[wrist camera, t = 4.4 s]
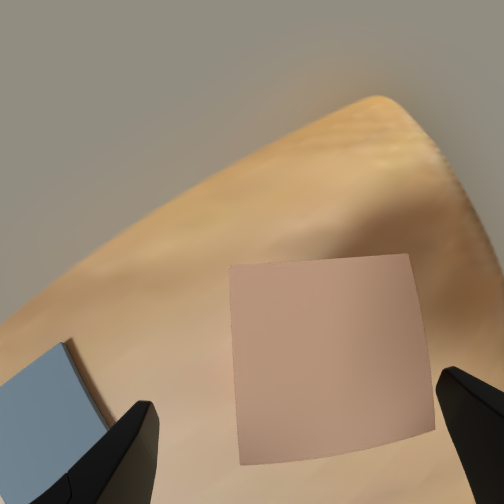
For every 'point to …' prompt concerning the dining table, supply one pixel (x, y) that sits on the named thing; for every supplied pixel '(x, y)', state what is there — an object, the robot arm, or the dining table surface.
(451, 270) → the dining table surface
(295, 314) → the block
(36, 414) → the mat
